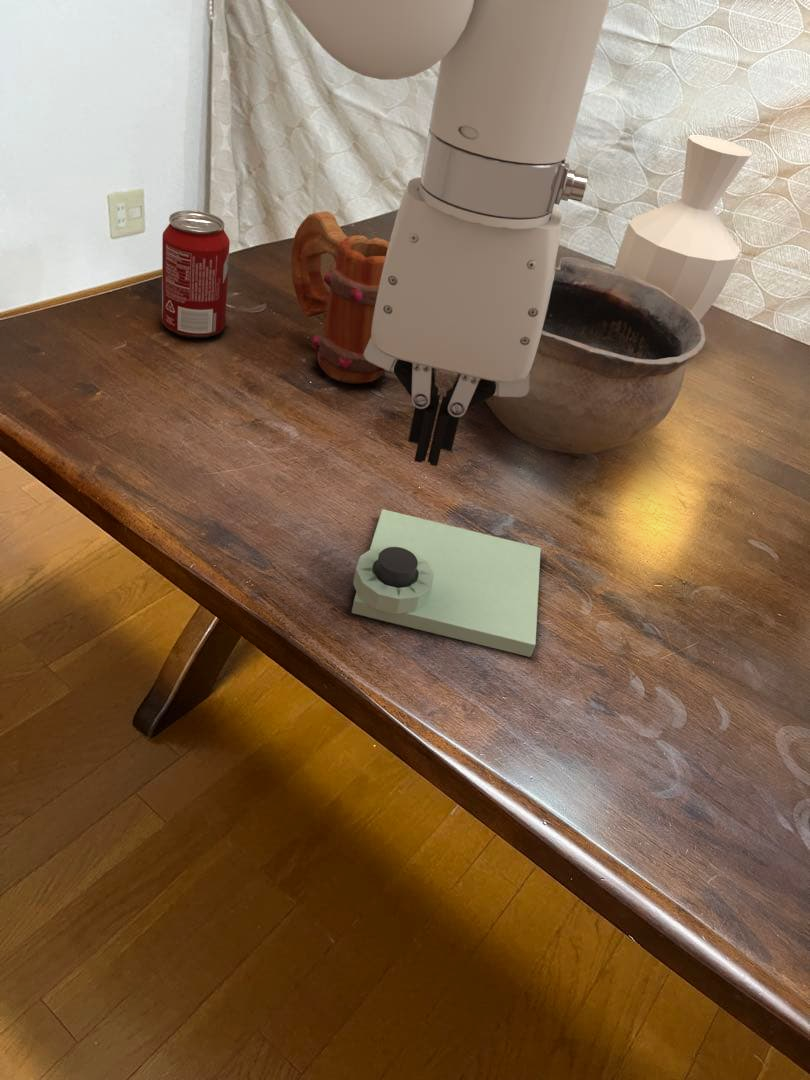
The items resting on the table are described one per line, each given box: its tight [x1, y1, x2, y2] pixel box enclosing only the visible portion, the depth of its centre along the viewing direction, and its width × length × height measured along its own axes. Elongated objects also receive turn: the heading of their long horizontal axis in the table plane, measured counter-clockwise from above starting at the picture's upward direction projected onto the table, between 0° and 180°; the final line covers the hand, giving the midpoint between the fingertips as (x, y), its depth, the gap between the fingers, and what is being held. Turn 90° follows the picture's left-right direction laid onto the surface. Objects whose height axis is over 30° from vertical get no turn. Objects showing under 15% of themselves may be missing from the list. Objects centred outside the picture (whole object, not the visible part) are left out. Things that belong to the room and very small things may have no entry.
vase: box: [614, 134, 753, 322], centre depth 108 cm, size 14×14×25 cm
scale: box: [351, 508, 542, 658], centre depth 69 cm, size 14×12×3 cm
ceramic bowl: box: [484, 256, 707, 455], centre depth 88 cm, size 22×22×15 cm
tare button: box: [375, 547, 418, 588], centre depth 65 cm, size 3×3×2 cm
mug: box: [290, 211, 390, 385], centre depth 91 cm, size 15×8×15 cm, turn 47°
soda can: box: [161, 210, 231, 340], centre depth 92 cm, size 7×7×12 cm
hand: (428, 452), depth 59 cm, fingers closed
